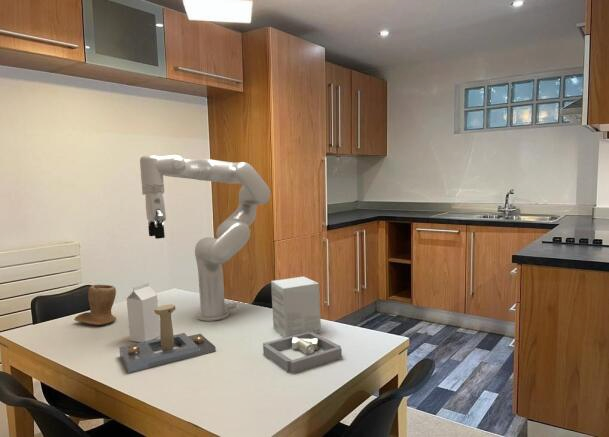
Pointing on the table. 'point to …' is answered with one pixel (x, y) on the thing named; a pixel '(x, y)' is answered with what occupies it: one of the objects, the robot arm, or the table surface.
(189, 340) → the upper end link
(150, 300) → the milk carton
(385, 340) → the table surface
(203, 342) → the lower end link
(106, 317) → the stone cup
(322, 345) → the parts fence
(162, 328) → the handle
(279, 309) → the supplement box
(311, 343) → the pipe fitting
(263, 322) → the table surface
